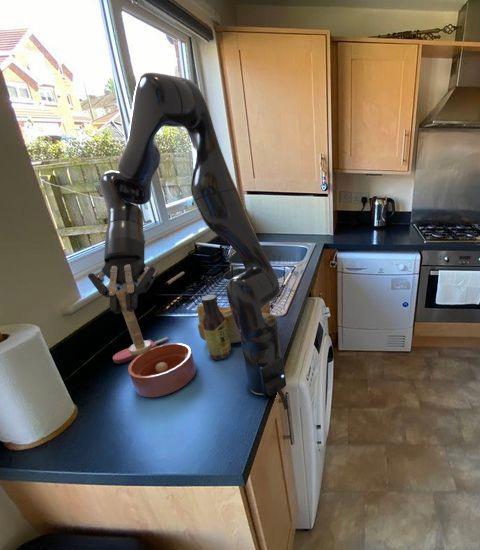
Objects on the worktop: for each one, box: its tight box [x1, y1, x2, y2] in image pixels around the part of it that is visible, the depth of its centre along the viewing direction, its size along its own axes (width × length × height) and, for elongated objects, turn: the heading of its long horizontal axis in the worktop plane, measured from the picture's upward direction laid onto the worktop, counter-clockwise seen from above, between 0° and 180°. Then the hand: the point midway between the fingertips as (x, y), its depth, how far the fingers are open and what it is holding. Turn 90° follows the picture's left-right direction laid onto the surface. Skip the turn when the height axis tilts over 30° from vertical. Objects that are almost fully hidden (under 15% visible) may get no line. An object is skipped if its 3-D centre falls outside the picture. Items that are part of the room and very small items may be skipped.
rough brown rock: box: [196, 302, 271, 344], centre depth 103 cm, size 23×17×15 cm
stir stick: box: [116, 289, 152, 355], centre depth 71 cm, size 4×4×16 cm
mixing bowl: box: [127, 342, 197, 398], centre depth 83 cm, size 14×14×7 cm
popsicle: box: [112, 336, 169, 364], centre depth 96 cm, size 5×2×15 cm
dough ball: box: [155, 362, 168, 373], centre depth 86 cm, size 3×3×3 cm
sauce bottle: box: [200, 294, 232, 361], centre depth 91 cm, size 7×6×20 cm
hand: (123, 311), depth 68 cm, fingers closed on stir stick, 2 cm apart
